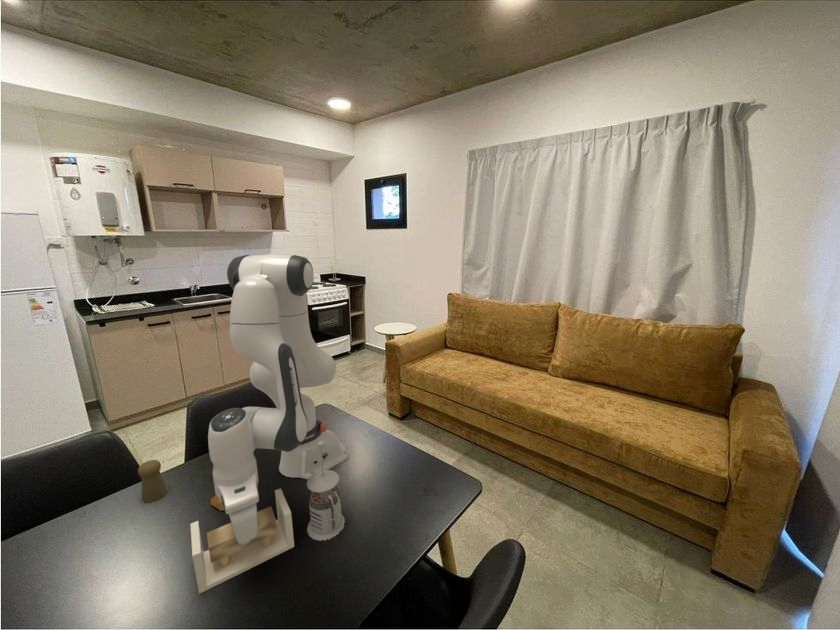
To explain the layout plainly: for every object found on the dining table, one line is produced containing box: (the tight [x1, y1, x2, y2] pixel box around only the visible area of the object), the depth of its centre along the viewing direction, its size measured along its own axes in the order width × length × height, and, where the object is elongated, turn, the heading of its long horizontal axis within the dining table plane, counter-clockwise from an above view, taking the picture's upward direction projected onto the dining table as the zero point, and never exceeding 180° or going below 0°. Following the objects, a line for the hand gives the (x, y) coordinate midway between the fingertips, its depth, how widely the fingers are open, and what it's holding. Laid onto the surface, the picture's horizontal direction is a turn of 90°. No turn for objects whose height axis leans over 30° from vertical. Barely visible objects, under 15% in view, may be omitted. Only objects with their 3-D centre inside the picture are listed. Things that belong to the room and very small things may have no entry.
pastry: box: [210, 494, 226, 512], centre depth 98 cm, size 9×7×4 cm
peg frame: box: [190, 487, 295, 595], centre depth 82 cm, size 20×10×10 cm, turn 125°
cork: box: [137, 459, 168, 504], centre depth 99 cm, size 6×6×11 cm
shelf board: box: [206, 505, 277, 563], centre depth 81 cm, size 14×5×4 cm, turn 125°
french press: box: [306, 441, 346, 542], centre depth 87 cm, size 10×12×25 cm
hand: (243, 529), depth 81 cm, fingers open, 6 cm apart
